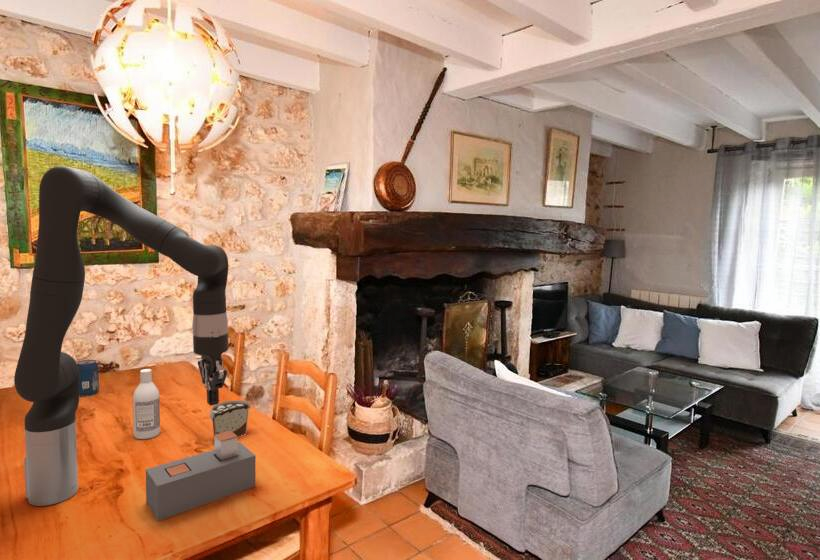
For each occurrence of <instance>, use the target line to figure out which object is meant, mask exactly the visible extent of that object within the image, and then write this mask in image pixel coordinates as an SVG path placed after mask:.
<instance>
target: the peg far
mask: <svg viewBox="0 0 820 560" xmlns="http://www.w3.org/2000/svg"><path fill="white" fill-rule="evenodd" d="M213 438H214V439H213V440H214V450H215V457H216V458H217V459H218V460H219V461H220V462H221V461H224V460H228V459H231V458H234V457H237V443H238V438H237V435H235V434H234V433H233V432H232V431H227V432H223V433H220V434H216V435H214V434H213Z"/></svg>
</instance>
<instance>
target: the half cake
mask: <svg viewBox="0 0 820 560" xmlns="http://www.w3.org/2000/svg"><path fill="white" fill-rule="evenodd" d="M249 409H251V404H250V402H249V401H245V400H227V401H224V402H219V403H218V404H216V405H212V407H211V410H210V413H209V418H210V419H211V420H212V421H211V422H212V429H213V436H214V435H216V434H220V433H223V432H227V431H232V432H233V433H234V434H235V435H237V437H238V438H240V437H239V436H241V435H244V434H246V435H247V428H248V427H247V426H248V418H249ZM244 436H245V435H244ZM241 437H242V436H241Z"/></svg>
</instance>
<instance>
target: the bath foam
mask: <svg viewBox="0 0 820 560" xmlns="http://www.w3.org/2000/svg"><path fill="white" fill-rule="evenodd" d="M139 372H140V373H139V374H140V379H139V380H140V382H139V384H138V386H136V389H135V390H134V393H133V396H132V416H133V417H132V420H133V421H132V424H133V428H132V429H133V437H134V438H135V439H137V440H147V439H152V438H155V437H157V436H158V435H160V433H161V399H160V398H161V397H160V390H159V389H158V388H157V386H156V384H155V383H154V382H153V375H152V374H153V373H152V369H151V368H145V369H141V370H140V371H139Z"/></svg>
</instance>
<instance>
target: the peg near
mask: <svg viewBox="0 0 820 560" xmlns="http://www.w3.org/2000/svg"><path fill="white" fill-rule="evenodd" d="M188 471H190V470H189V469H188V467H187V466H186V465H185V464H181V465H178V466H174V467H171V468H167V469H166V472H167V473H168V475H169V476H170V477H172V476H175V475H178V474H182V473H185V472H188Z"/></svg>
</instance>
